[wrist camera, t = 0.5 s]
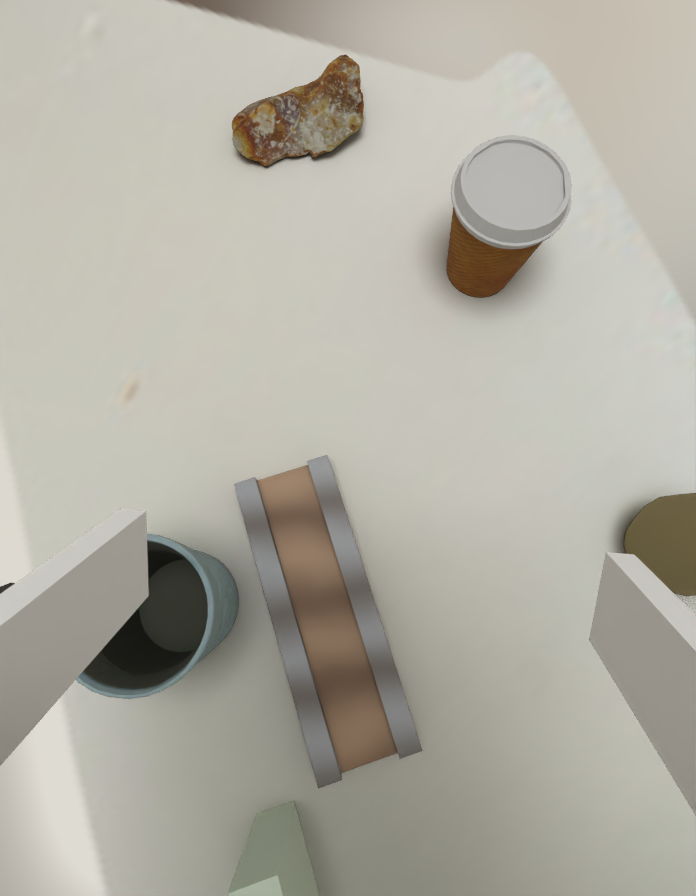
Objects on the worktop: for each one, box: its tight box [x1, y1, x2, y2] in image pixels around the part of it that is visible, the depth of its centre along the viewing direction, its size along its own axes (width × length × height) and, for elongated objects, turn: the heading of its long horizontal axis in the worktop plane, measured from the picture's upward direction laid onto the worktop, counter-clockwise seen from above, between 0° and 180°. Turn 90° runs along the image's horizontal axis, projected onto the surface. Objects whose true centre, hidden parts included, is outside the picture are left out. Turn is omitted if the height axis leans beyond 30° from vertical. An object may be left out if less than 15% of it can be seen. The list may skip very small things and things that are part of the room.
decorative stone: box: [232, 55, 364, 166], centre depth 55 cm, size 10×4×15 cm
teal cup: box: [76, 534, 238, 699], centre depth 40 cm, size 10×10×12 cm
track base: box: [234, 455, 422, 788], centre depth 44 cm, size 24×8×2 cm, turn 18°
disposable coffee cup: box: [447, 136, 572, 297], centre depth 47 cm, size 10×10×12 cm
